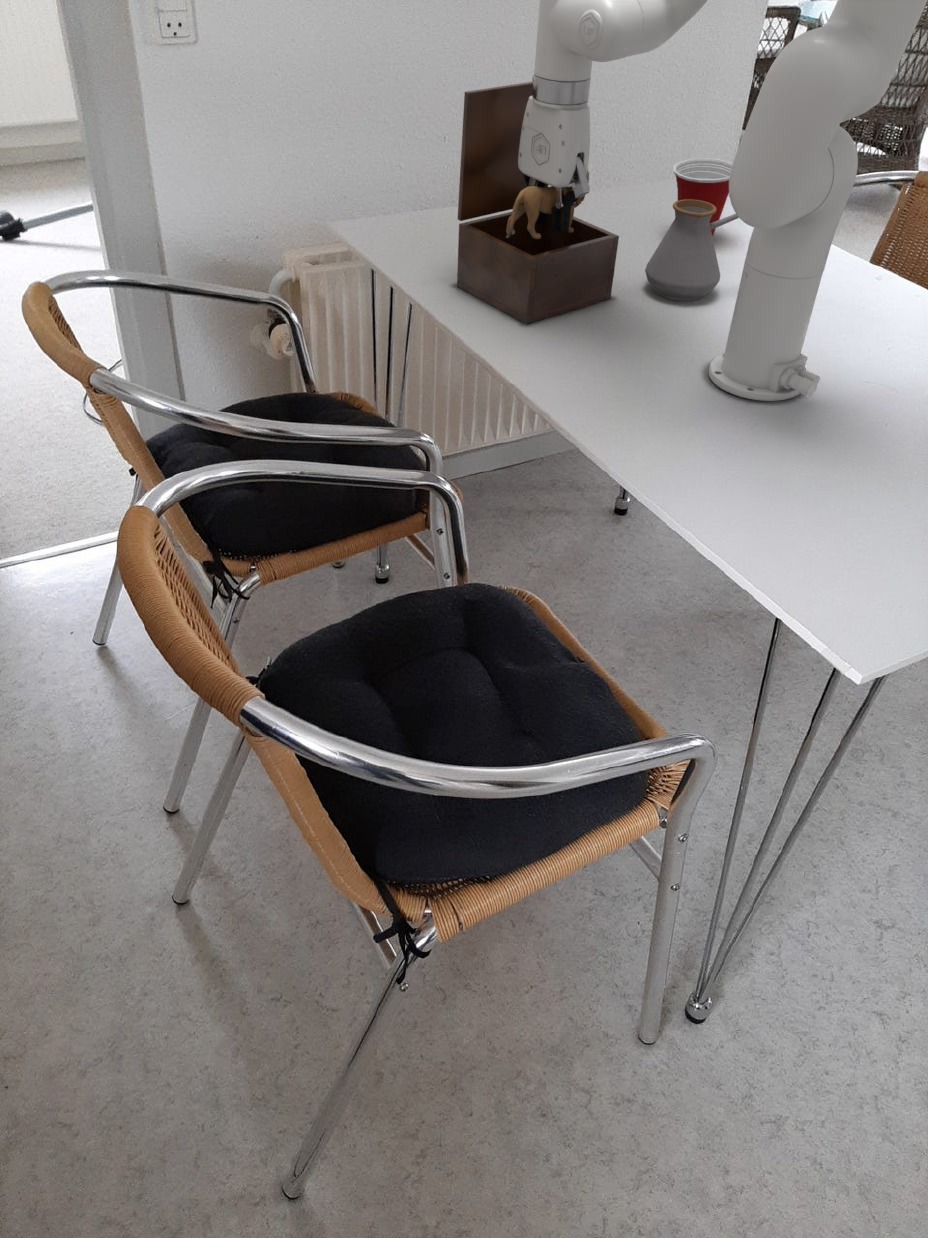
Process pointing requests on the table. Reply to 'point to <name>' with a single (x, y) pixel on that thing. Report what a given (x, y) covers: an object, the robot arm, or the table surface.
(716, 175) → the plastic cup
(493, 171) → the lid
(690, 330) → the table surface
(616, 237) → the chest
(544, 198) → the lion figurine
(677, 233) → the coffee pot
